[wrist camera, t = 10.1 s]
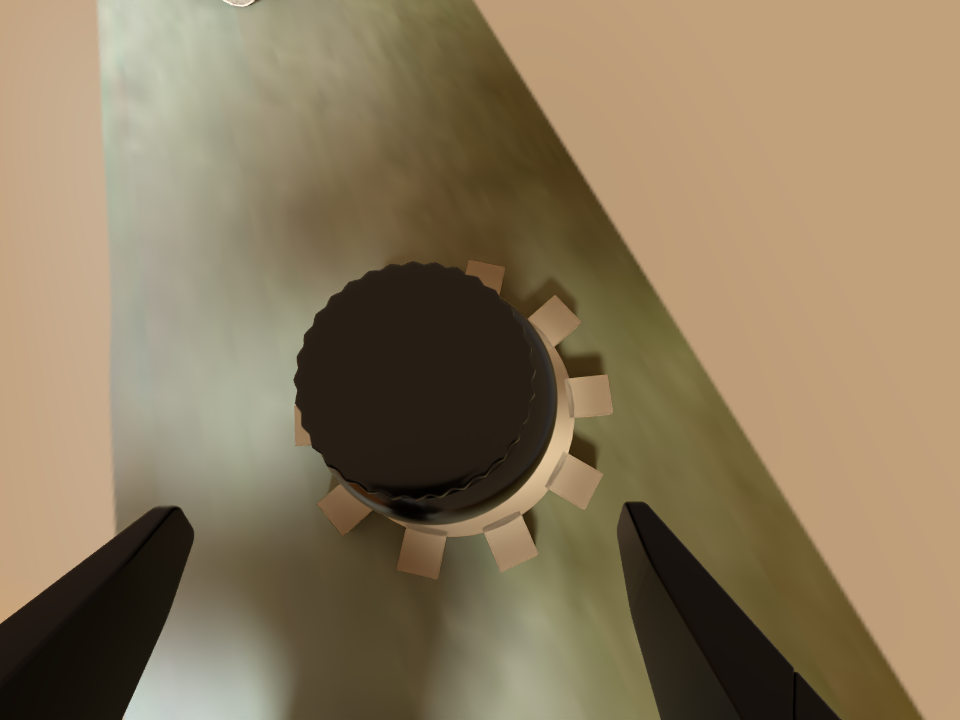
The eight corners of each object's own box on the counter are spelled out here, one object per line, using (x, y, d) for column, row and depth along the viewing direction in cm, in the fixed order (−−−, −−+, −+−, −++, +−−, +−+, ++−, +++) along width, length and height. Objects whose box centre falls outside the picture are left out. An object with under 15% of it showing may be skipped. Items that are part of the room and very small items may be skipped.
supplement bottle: (541, 357, 21) (622, 249, 9) (512, 508, 20) (564, 604, 8) (395, 327, 21) (294, 184, 10) (359, 475, 20) (191, 522, 8)
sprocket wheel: (655, 491, 21) (668, 494, 20) (371, 625, 20) (363, 638, 19) (526, 227, 24) (529, 214, 22) (265, 335, 23) (251, 328, 21)
